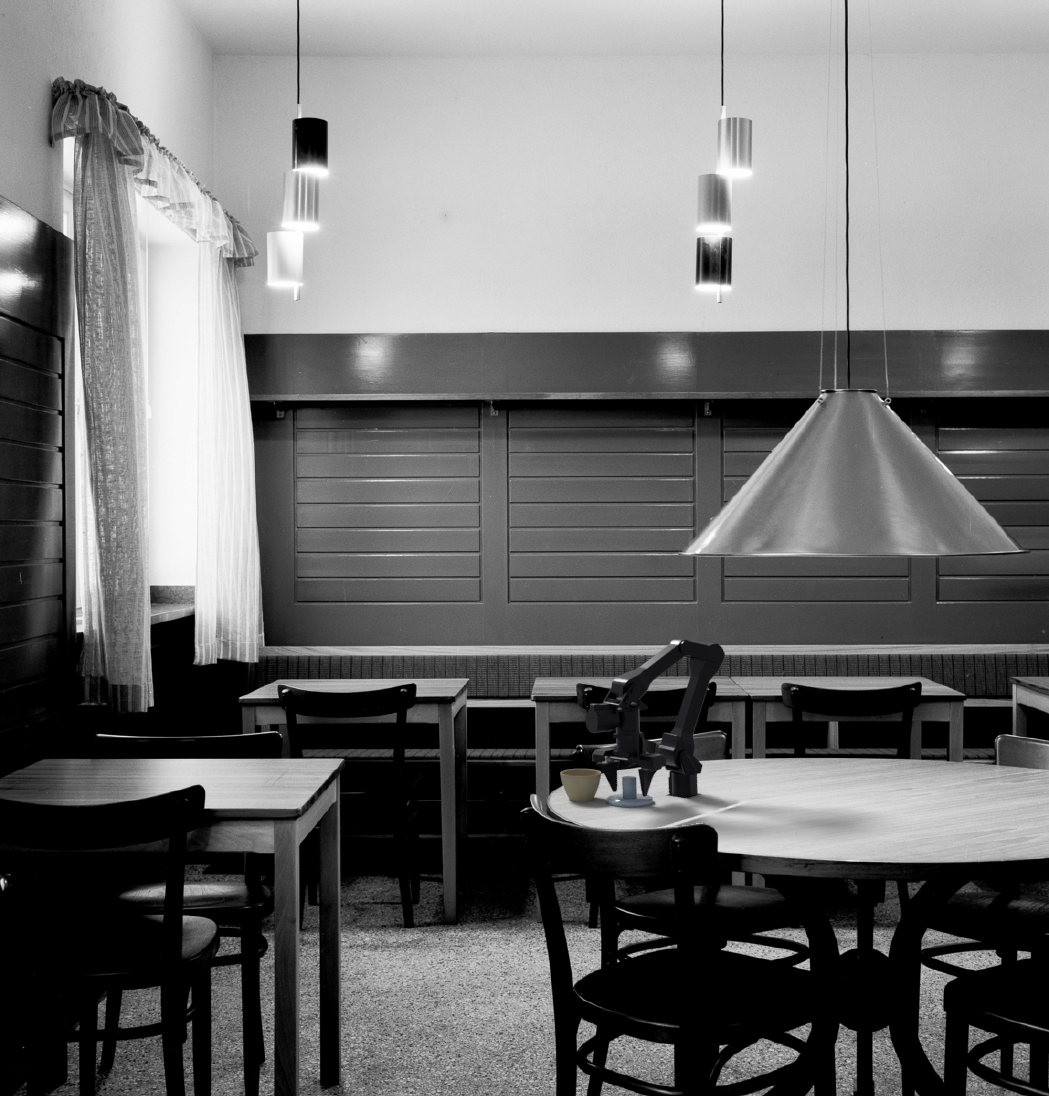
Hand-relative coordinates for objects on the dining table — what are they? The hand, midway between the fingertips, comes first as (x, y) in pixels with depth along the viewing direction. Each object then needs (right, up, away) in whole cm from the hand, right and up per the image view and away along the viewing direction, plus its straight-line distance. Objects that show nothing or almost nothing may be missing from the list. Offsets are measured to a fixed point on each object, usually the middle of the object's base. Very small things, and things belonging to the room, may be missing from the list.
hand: (629, 793), depth 275 cm
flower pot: (-11, -3, +5) cm, 13 cm away
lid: (0, -2, 0) cm, 2 cm away
